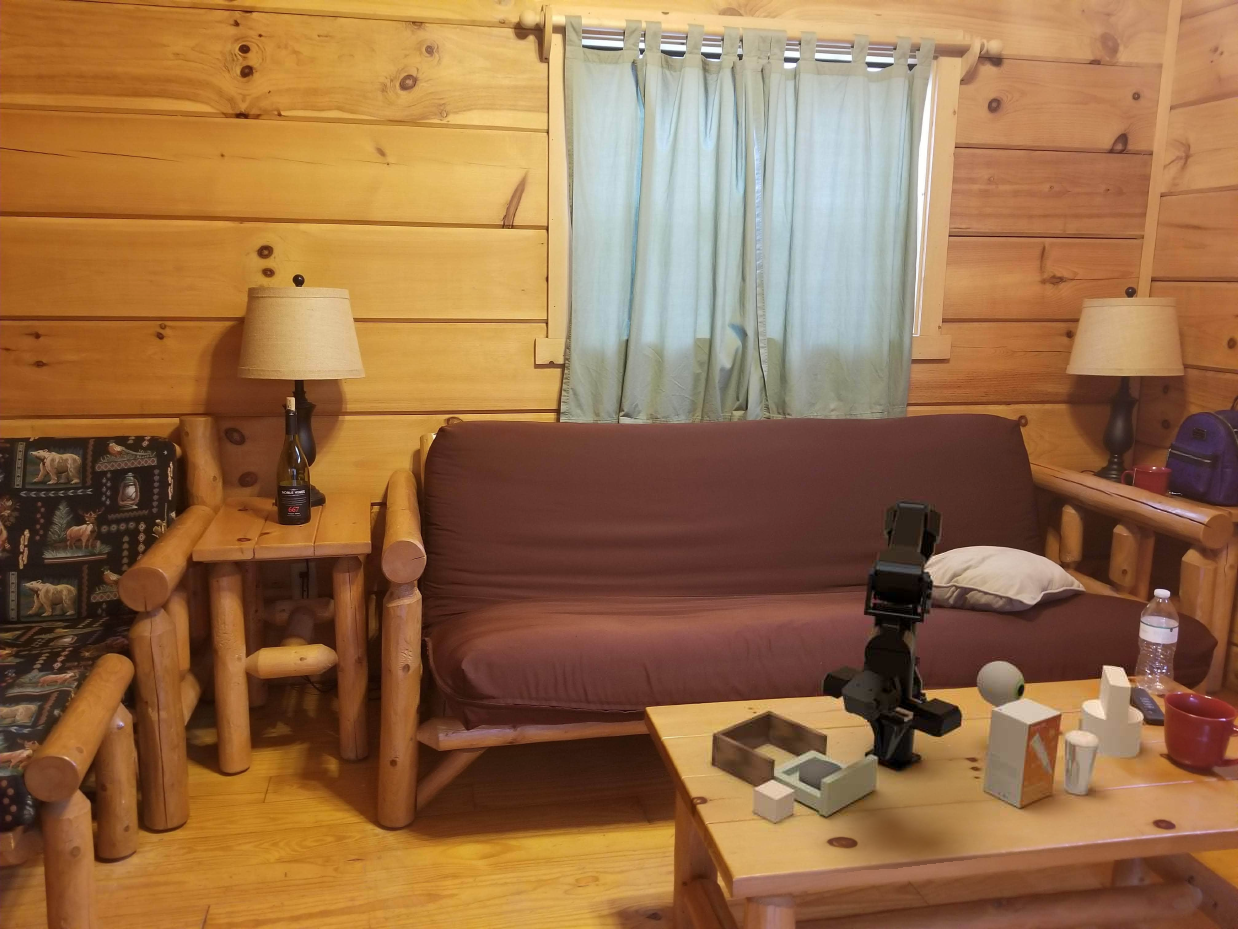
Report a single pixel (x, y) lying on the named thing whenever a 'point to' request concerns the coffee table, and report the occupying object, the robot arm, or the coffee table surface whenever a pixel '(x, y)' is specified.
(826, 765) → the cylinder
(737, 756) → the holder
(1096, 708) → the base with upright slab
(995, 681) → the eyeball
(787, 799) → the block
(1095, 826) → the coffee table surface
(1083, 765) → the milkshake
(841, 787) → the tray
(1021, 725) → the small box
